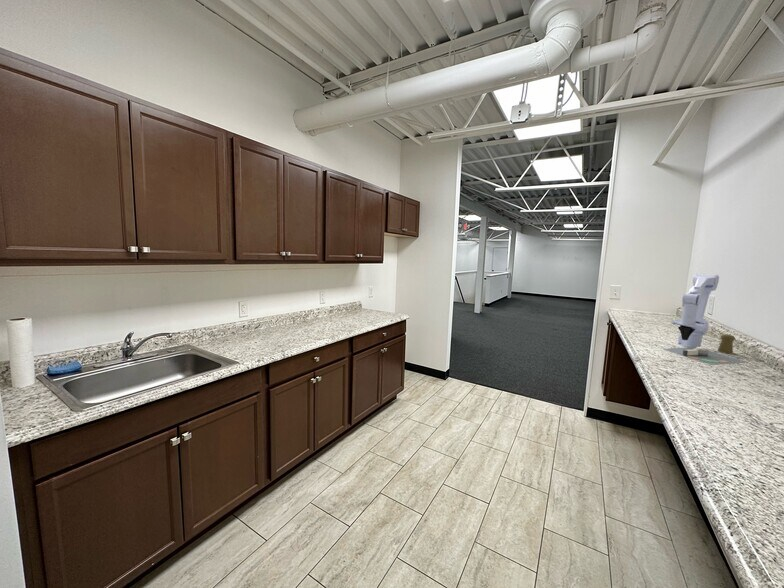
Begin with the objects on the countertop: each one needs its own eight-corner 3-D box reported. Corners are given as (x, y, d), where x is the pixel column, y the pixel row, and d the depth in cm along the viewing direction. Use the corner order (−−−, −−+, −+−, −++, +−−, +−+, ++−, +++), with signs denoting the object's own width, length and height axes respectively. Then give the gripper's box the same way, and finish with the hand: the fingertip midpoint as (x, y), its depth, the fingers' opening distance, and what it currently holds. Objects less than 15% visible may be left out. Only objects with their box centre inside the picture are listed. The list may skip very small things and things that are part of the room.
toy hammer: (698, 352, 168) (699, 346, 168) (710, 355, 163) (711, 349, 162) (678, 353, 166) (679, 347, 165) (689, 356, 160) (690, 350, 160)
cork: (736, 356, 167) (739, 336, 165) (722, 355, 168) (726, 335, 166) (726, 352, 173) (730, 333, 171) (713, 351, 174) (717, 332, 172)
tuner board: (661, 350, 174) (661, 348, 174) (694, 349, 178) (694, 346, 178) (711, 367, 151) (711, 364, 150) (747, 364, 154) (748, 362, 154)
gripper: (668, 313, 172) (665, 336, 174) (698, 318, 158) (693, 344, 160) (678, 312, 173) (675, 335, 175) (709, 318, 159) (704, 343, 161)
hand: (684, 339), depth 168 cm, fingers closed
